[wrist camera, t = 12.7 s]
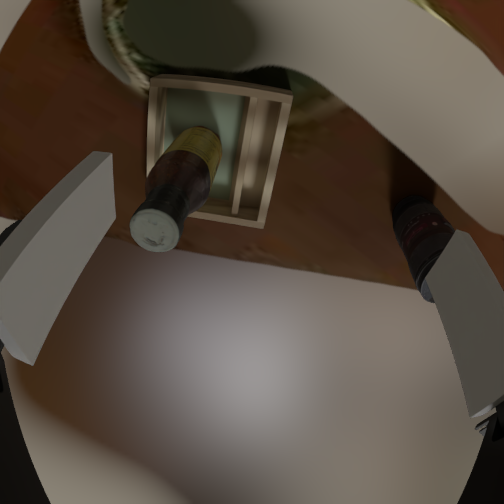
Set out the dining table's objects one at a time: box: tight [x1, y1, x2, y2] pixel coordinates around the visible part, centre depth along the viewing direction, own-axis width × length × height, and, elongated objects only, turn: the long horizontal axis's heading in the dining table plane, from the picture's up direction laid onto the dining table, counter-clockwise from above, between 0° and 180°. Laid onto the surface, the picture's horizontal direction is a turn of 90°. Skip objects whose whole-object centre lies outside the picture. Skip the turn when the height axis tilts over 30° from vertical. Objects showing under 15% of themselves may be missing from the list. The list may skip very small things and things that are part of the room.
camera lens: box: [392, 196, 455, 303], centre depth 37 cm, size 8×8×15 cm
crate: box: [147, 74, 293, 229], centre depth 37 cm, size 18×16×4 cm
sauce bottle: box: [130, 126, 222, 252], centre depth 30 cm, size 7×6×20 cm
